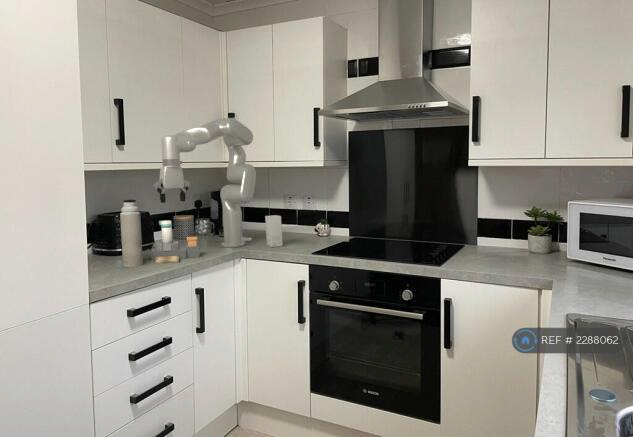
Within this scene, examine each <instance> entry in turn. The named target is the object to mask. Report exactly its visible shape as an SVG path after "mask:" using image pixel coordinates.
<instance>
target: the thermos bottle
mask: <svg viewBox="0 0 633 437" xmlns="http://www.w3.org/2000/svg"><path fill="white" fill-rule="evenodd" d="M136 202H137V200H136V199H123V207H121V210H120V211H121V212H120V213H119V214H120V215H119V219H120V220H119V221H120V236H121V250H122V251H121V252H122V256H121V257H122V266H123V267H127V268H133V267H134V268H135V267H139V266H140V267H141V266H142V265H144V259H143V245H142V244H143V240H142V239H143V238H142V227H141V226H142V223H141V221H142V220H141V212H139V207H138V206H137V203H136Z"/></svg>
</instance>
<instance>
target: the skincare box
mask: <svg viewBox="0 0 633 437" xmlns="http://www.w3.org/2000/svg"><path fill="white" fill-rule="evenodd" d="M264 218H265V237H266V246H267V247H270V248H279V247H280V248H281V247H284V246H283V228H282V216H281V215H278V214H277V215H276V214H275V215H265V216H264Z"/></svg>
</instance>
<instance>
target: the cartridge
mask: <svg viewBox="0 0 633 437" xmlns="http://www.w3.org/2000/svg"><path fill="white" fill-rule="evenodd" d="M158 224H159V226H160V228H161V242H162V244H170V243H172V241H173V229H172V227H173V222H172V220H171V219H170V220H169V219H167V220H158Z"/></svg>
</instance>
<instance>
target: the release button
mask: <svg viewBox="0 0 633 437" xmlns="http://www.w3.org/2000/svg"><path fill="white" fill-rule="evenodd" d="M186 241H187V245H188V247H191V246H197V241H198V236H186Z"/></svg>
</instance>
